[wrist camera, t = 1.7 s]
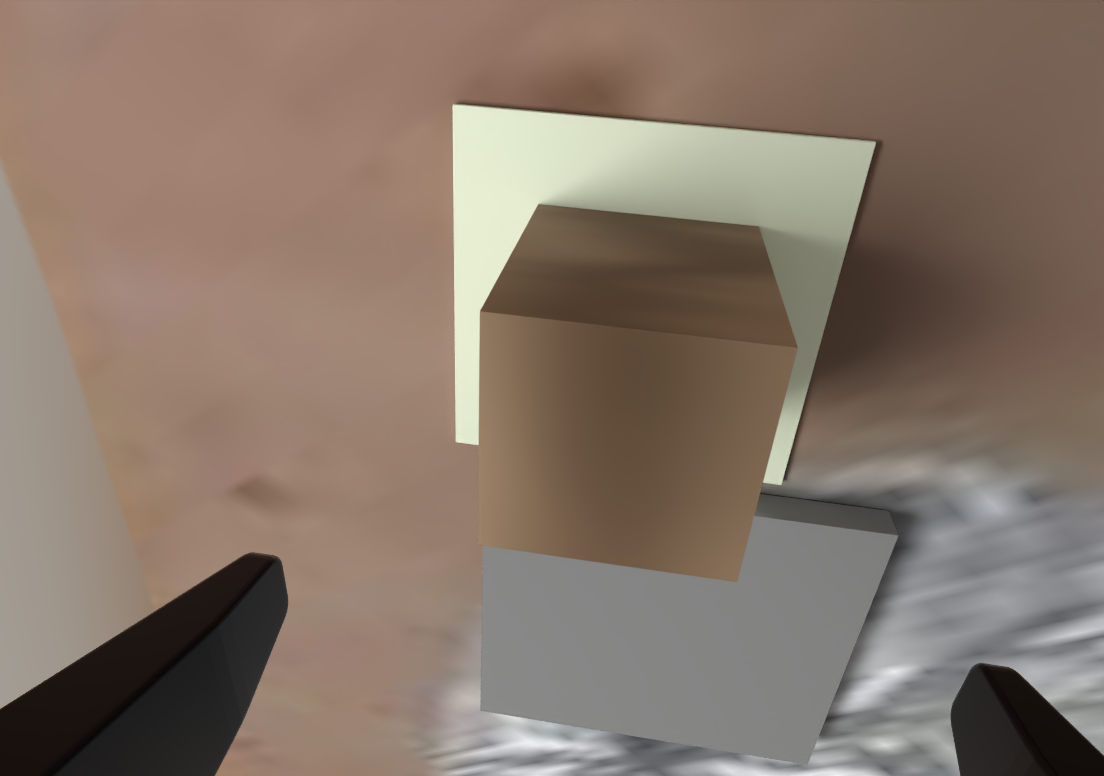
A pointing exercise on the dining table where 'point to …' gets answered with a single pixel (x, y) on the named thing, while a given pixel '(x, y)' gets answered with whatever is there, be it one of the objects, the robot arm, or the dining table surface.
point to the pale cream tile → (653, 212)
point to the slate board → (689, 635)
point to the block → (630, 390)
